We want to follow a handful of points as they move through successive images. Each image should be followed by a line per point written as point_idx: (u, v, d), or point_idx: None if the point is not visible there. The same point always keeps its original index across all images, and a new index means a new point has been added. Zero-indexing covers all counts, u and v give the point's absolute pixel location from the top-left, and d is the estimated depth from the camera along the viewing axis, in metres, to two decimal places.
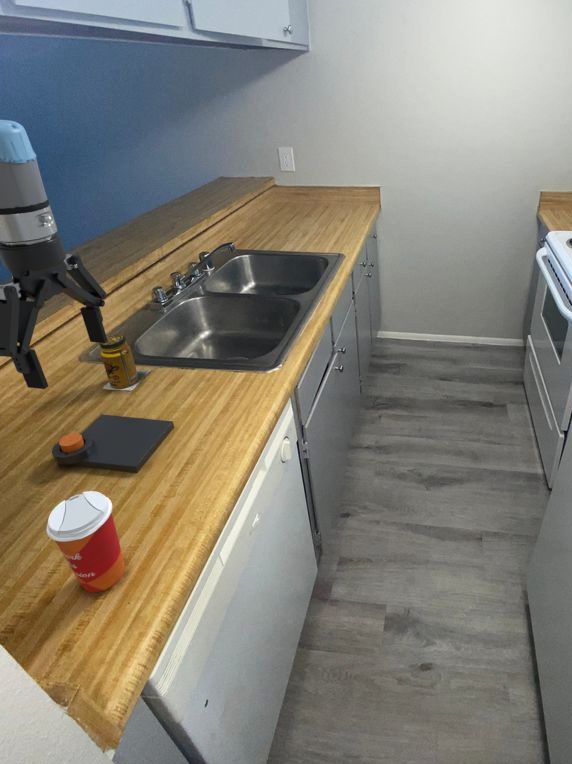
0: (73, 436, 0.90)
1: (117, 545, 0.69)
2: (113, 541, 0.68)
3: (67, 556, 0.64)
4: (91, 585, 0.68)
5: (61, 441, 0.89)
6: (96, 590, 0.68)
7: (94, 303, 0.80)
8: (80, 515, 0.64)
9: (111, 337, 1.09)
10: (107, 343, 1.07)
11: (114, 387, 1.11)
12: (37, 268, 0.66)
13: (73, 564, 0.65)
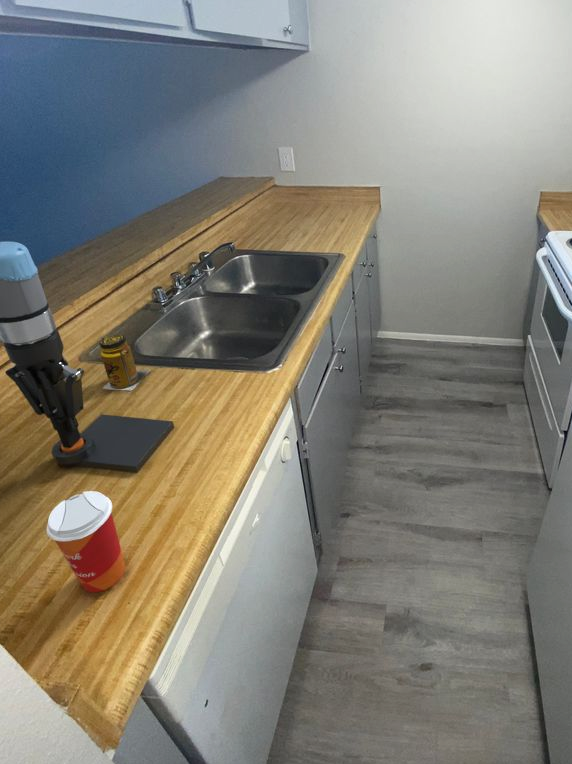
0: None
1: (117, 545, 0.69)
2: (113, 541, 0.68)
3: (67, 556, 0.64)
4: (91, 585, 0.68)
5: None
6: (96, 590, 0.68)
7: None
8: (80, 515, 0.64)
9: (111, 337, 1.09)
10: (107, 343, 1.07)
11: (114, 387, 1.11)
12: (63, 346, 0.82)
13: (73, 563, 0.65)
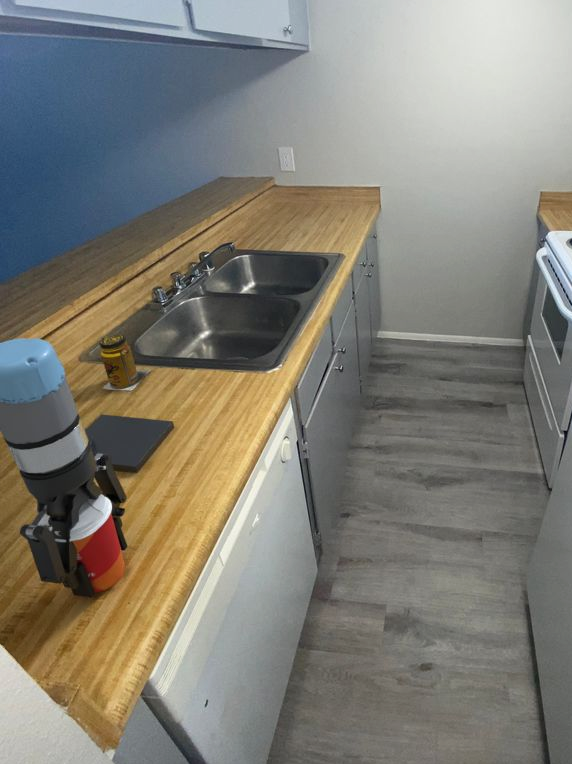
0: None
1: (117, 545, 0.69)
2: (113, 541, 0.68)
3: None
4: None
5: None
6: (96, 590, 0.68)
7: None
8: (80, 516, 0.64)
9: (111, 337, 1.09)
10: (107, 343, 1.07)
11: (114, 387, 1.11)
12: None
13: None
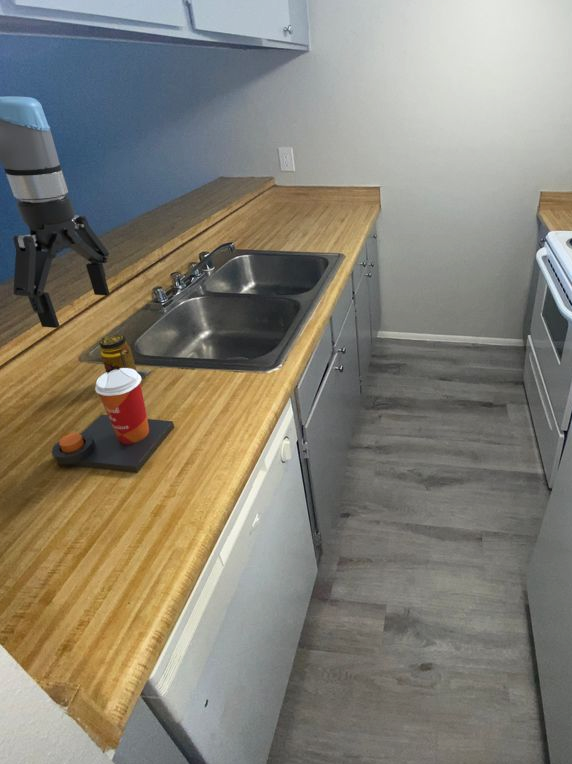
0: (73, 436, 0.90)
1: (144, 409, 0.93)
2: (142, 405, 0.92)
3: (109, 410, 0.89)
4: (125, 437, 0.92)
5: (61, 441, 0.89)
6: (129, 442, 0.93)
7: None
8: (119, 380, 0.88)
9: (112, 337, 1.09)
10: (107, 343, 1.07)
11: None
12: None
13: (113, 417, 0.89)
